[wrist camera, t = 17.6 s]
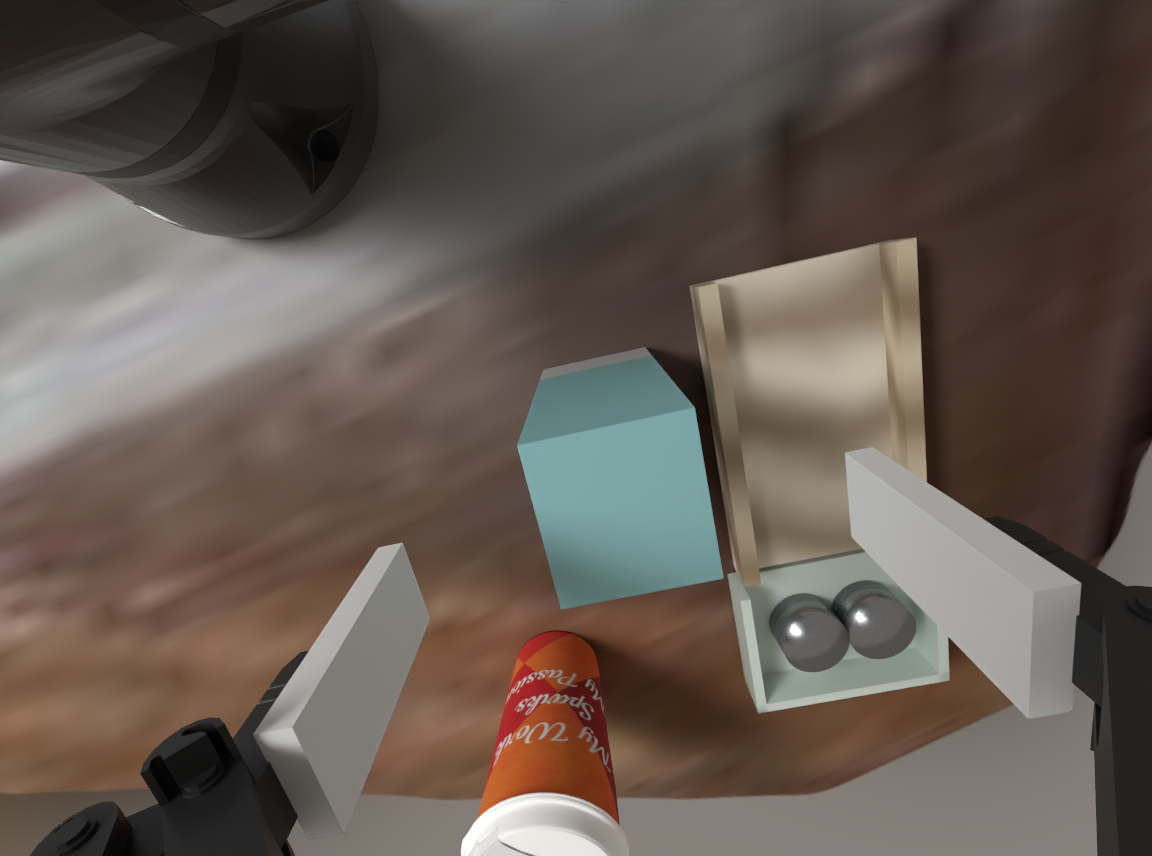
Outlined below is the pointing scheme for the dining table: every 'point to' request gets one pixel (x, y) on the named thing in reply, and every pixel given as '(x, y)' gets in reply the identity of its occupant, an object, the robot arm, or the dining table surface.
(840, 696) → the tray
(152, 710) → the dining table surface
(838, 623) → the chip
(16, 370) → the dining table surface
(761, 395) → the slot board
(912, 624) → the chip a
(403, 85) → the dining table surface
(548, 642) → the paper cup
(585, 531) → the teal tall block
